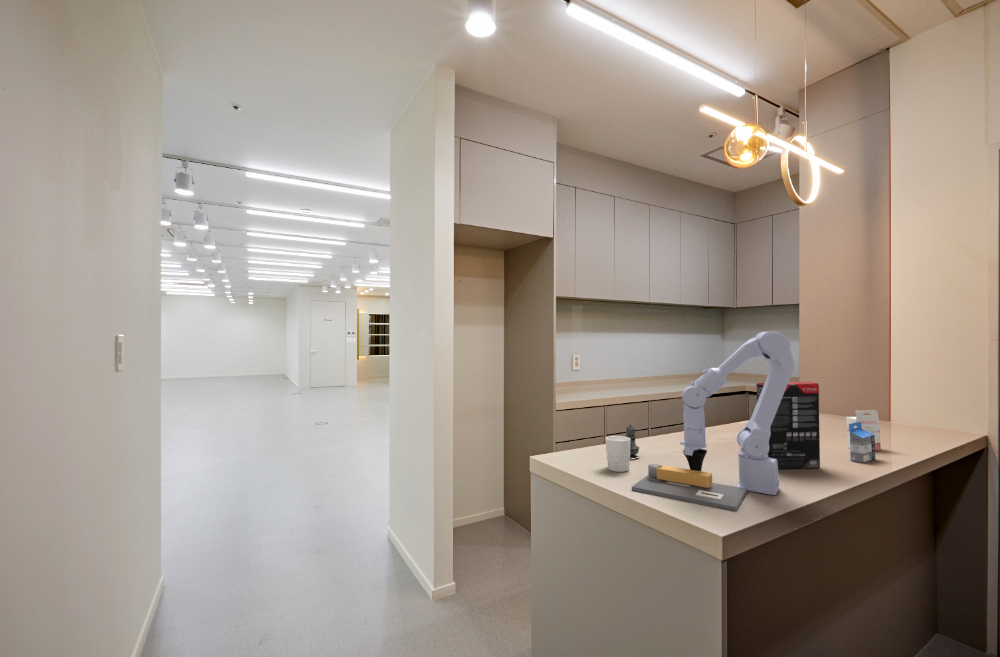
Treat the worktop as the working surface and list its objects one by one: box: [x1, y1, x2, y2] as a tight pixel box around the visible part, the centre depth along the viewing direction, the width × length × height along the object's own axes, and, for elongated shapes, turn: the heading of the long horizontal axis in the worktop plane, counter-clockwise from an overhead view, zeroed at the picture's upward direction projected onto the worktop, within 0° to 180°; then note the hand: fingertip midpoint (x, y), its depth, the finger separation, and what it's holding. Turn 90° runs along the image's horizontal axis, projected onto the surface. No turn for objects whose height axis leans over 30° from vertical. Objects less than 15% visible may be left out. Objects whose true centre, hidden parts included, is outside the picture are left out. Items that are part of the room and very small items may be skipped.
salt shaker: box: [625, 423, 640, 458], centre depth 155 cm, size 6×6×12 cm
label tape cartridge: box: [849, 421, 877, 464], centre depth 146 cm, size 9×4×12 cm, turn 119°
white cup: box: [604, 435, 631, 473], centre depth 141 cm, size 8×8×10 cm
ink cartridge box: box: [845, 409, 882, 452], centre depth 160 cm, size 9×5×15 cm, turn 90°
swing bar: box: [647, 463, 713, 488], centre depth 124 cm, size 17×4×3 cm, turn 52°
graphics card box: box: [756, 381, 821, 469], centre depth 140 cm, size 17×7×27 cm, turn 92°
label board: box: [631, 474, 748, 512], centre depth 119 cm, size 26×16×1 cm, turn 52°
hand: (695, 475), depth 126 cm, fingers closed
